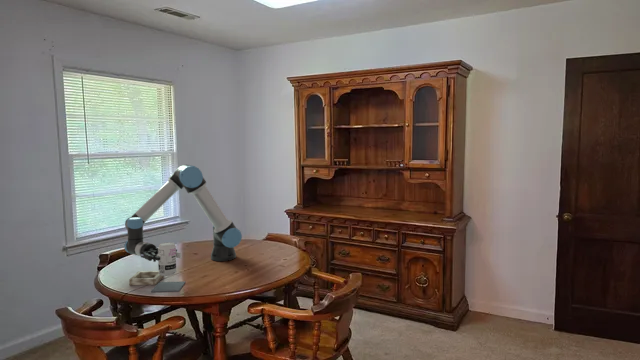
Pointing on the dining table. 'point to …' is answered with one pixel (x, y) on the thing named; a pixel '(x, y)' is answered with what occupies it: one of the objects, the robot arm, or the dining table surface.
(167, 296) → the dining table surface
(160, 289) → the slate mat
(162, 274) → the supplement can
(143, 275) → the holder collar
